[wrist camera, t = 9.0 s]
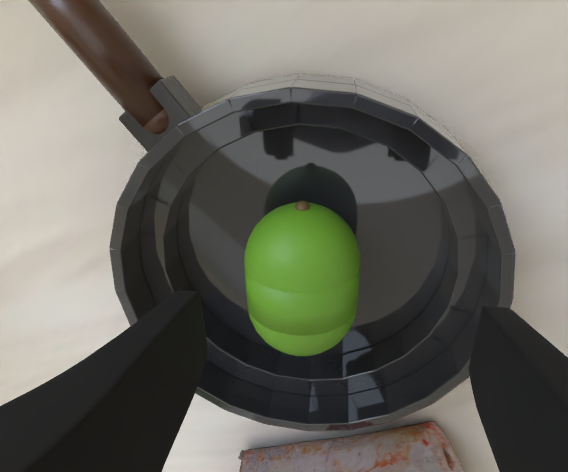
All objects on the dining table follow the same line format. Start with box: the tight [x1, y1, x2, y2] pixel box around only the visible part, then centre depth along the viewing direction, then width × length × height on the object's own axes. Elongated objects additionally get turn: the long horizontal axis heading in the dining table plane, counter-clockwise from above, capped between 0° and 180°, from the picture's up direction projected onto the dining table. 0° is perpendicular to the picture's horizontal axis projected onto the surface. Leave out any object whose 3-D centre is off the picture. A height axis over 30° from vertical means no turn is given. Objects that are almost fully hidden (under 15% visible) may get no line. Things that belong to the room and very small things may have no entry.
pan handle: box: [29, 0, 201, 152], centre depth 15 cm, size 9×2×2 cm, turn 38°
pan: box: [110, 74, 515, 431], centre depth 19 cm, size 16×16×4 cm
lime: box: [244, 200, 361, 356], centre depth 18 cm, size 8×5×5 cm, turn 1°
